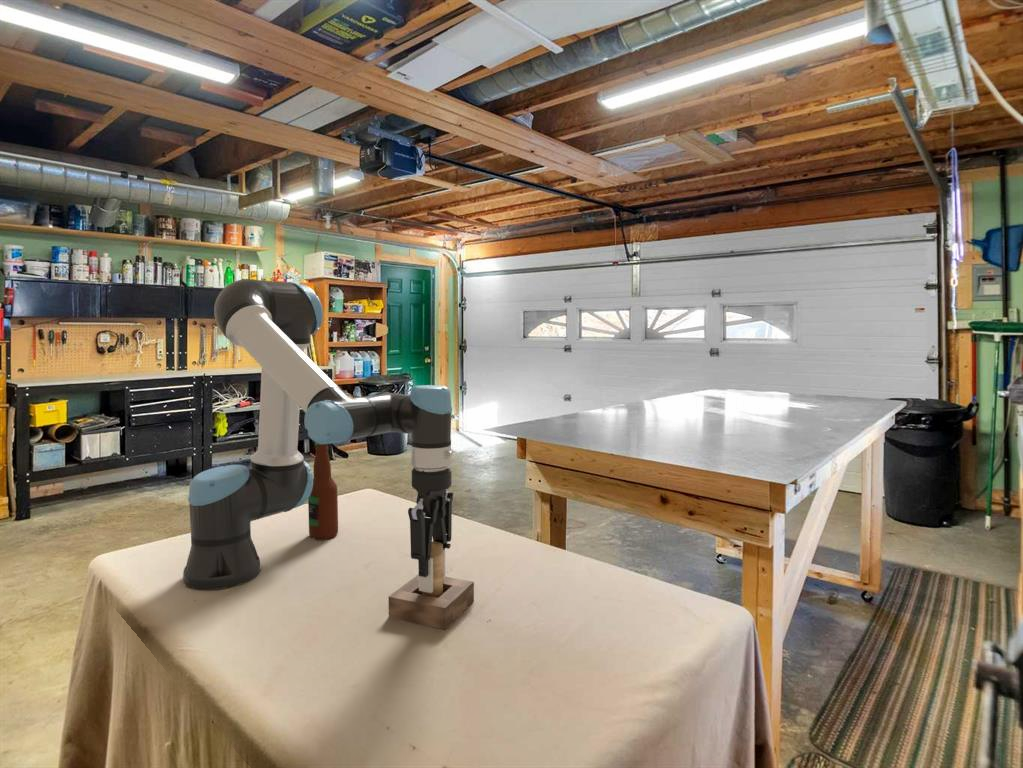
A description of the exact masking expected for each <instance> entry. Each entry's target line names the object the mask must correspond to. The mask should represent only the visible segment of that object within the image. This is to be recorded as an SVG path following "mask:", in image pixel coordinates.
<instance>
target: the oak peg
mask: <svg viewBox="0 0 1023 768" xmlns="http://www.w3.org/2000/svg"><path fill="white" fill-rule="evenodd" d="M430 558H433V592H432V593H428V592H423V591H422V595H426V596H431V597H436V598H439V597H440V596H441V595H442V594H443V544H442V543H440V542H433V541H432V546H431V556H430Z"/></svg>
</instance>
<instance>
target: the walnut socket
mask: <svg viewBox="0 0 1023 768" xmlns="http://www.w3.org/2000/svg"><path fill="white" fill-rule="evenodd" d="M474 601H475V581H471V580H466V579H460V578H456V577H450V576H445V582H444V583H443V594H442V595H441V596H440V597H439V598H436V597H431V596H426V595H422V591H419V573H418V574H417V575H415V576H414V577H413V578H411V579H410V580H409V581H407V582H406V583H405V584H404V585H402V586H401V587H400V588H398V589H397V590H395V591H394V592H393V593H391V594H390V595H389V596H388V618H392V619H396V620H400V621H406V622H409V623H414V624H419V625H422V626H428V627H431V628H432V627H433V628H438V629H441V630H442V629H443V630H447V628H448V627H449V626H450V625H451V624H452V623H453V622H455V620H457V618H459V616H461V614H462V613H464V612H465V610H467V609H468V608H469V606H470V605H471V604H473V603H474Z"/></svg>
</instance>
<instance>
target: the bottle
mask: <svg viewBox="0 0 1023 768" xmlns="http://www.w3.org/2000/svg"><path fill="white" fill-rule="evenodd" d="M314 444H315V447H314V448H315V449H314V450H315V454H314V463H313V488H312V492H311V494H310V496H309V498H308V500H307V502H308V503H307V504H308V534H309V537H310V538H312V539H313V540H319V541H320V540H329V539H332V538H334V537H336V536H337V534H338V533H339V509H338V508H339V505H338V504H339V503H338V502H339V501H338V485H337V484H336V481H334V478H333V477H332V466H331V465H332V464H331V460H330V456H329V452H328V450H329V446H328V444H319V443H316V442H314Z"/></svg>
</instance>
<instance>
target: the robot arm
mask: <svg viewBox="0 0 1023 768" xmlns="http://www.w3.org/2000/svg"><path fill="white" fill-rule="evenodd" d="M213 306H214V308H213V310H214V312H213V313H214V314H213V315H214V319H215V322H216V325H217V327H218V329H219V330H220V332H221V333H222V335H223V336H225V338H226V339H227V340H228V341H229V343H231V344H233V345H235V346H237V347H242V348H243V349H244V350H245V351H246V352H247V353H248V354H249V355H250V356H251V357H252V358H253V360H254V361H255V362H257V364H259V366H260V367H261V374H260V375H261V376H260V396H259V397H260V399H259V403H260V404H259V421H258V422H259V423H258V424H259V425H258V440H257V442H258V444H257V445H258V446H257V450H256V451H255V452H254V453H253V454H251V456H250V462H249V466H250V467H249V468H248V467H247V466H246V465H242V464H228V465H224V466H223V465H221V466H216V467H212V468H208V469H207V470H203V471H201V472H200V473H197V474H196V475H194V476H193V478H192V479H191V481H190V482H189V487H188V488H189V489H188V497H187V500H188V503H189V504H188V505H189V525H190V541H191V543H190V544H191V545H190V550H189V553H188V556H187V560H186V565H185V567H184V569H183V574H182V575H183V584H184V585H185V587H187V588H189V589H191V590H192V589H193V590H199V591H211V590H221V589H227V588H231V587H235V586H239V585H242V584H244V583H246V582H249V581H251V580H252V579H254V578H256V577H257V576H258V575H259V574H260V572H261V570H262V569H261V567H262V566H261V558H260V556H259V555H258V551H257V549H256V547H255V544H254V541H253V540H252V534H251V532H252V531H251V529H252V527H251V526H252V525H251V522H253V521H257V520H261V519H264V518H267V517H268V518H269V517H272V516H274V515H277V514H281V513H287V512H290V511H291V510H293V509H296V508H299V507H301V506H302V505H304V504H305V503H306V502H308V498H309V496H310V494H311V492H312V488H313V478H314V474H313V473H312V472H311V470H312V469H311V466H310V465H309V464H308V462H307V461H305V459H304V457H305V456H304V455H303V454H302V453H301V452H300V451H299V450H298V446H299V429H300V428H299V427H300V412H301V411H300V409H301V410H302V411H303V412H304V413H305V414H304V418H303V419H304V420H303V421H304V429H305V430H307V435H308V437H309V439H311V440H312V441H313V442H314V443H319V444H327V445H329V444H338V443H339V444H340V443H341V444H342V443H344V442H347V441H351V440H357V439H360V438H361V439H362V438H367V437H373V436H377V435H382V434H386V433H387V434H388V433H402V434H408V435H410V442H411V445H410V446H411V451H410V452H411V453H410V454H411V455H410V456H411V459H410V465H411V467H413V468H412V469H411V487H412V489H414V490H415V491H416V492H417V497H416V505H414V507H409V508H408V509H407V514H408V518H409V529H410V531H409V532H410V533H409V534H410V558H411V559H414V560H417V561H418V564H417V565H418V566H417V567H418V574H419V591H423V592H428V593H432V592H433V558H430V556H431V546H432V542H440V543H442V544H443V583H444V582H445V577H446V549H448V550H449V549H450V548H451V546H452V544H451V543H449V542H451V541H452V526H453V523H452V520H453V519H452V517H453V516H452V515H453V499H454V492H452V491H447V490H448V489H450V488H451V486H452V481H453V480H452V468H451V464H452V456H453V451H452V439H451V438H452V435H451V434H452V411H453V407H452V397H451V390H450V389H449V388H448V387H447V386H446V385H438V384H437V385H436V384H435V385H432V384H426V385H425V384H423V385H422V384H421V385H415V386H412V388H411V389H410V394H403V393H402V394H401V393H392V392H389V391H382V392H381V391H379V392H371V393H369V394H368V395H366V396H357V397H350V396H349V395H348V394H347V393H346V392H345V391H344V390H342V389H341V388H340V387H339V385H338V384H336V383H335V382H334V381H333V380H332V379H331V378H330V377H329V376H328V375H327V374H326V373H325V372H324V371H323V370H322V369H321V368H320V367H319V366H318V365H317V364H316V363H315V362H314V361H313V360H312V359H311V358H310V357H309V356H308V355H307V354H306V353H305V352H304V350H306V348H307V347H308V346H310V345H311V336H312V335H314V334H315V333H317V332H318V331H319V330H320V328H321V327H322V325H323V320H324V312H323V311H324V310H323V305H322V302H321V300H320V297H319V296H318V295H317V294H316V292H315V290H313V288H311V287H310V286H308V285H306V284H302V283H296V282H292V281H274V280H273V281H272V280H261V279H260V280H259V279H258V280H257V279H254V278H244V279H238V280H236V281H233V282H231V283H229V284H227V285H226V286H225V287H223V288H222V290H221V291H220V292H219V294H218V296H217V297H216V300H215V303H214V305H213Z"/></svg>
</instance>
